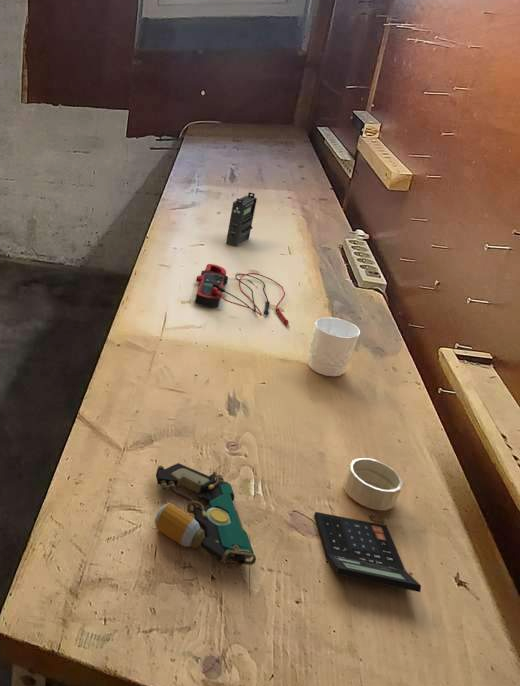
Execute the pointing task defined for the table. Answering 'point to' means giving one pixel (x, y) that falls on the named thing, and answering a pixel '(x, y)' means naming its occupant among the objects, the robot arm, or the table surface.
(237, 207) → the geiger counter
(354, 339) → the white cup
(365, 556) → the calculator
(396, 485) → the bowl
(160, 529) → the spray gun
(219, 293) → the digital clamp meter
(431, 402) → the table surface
